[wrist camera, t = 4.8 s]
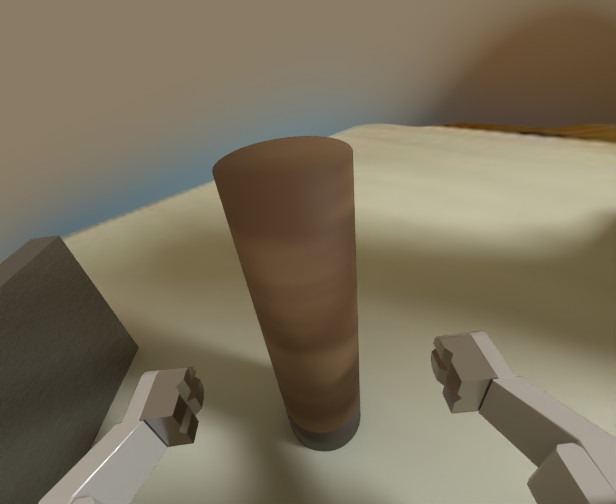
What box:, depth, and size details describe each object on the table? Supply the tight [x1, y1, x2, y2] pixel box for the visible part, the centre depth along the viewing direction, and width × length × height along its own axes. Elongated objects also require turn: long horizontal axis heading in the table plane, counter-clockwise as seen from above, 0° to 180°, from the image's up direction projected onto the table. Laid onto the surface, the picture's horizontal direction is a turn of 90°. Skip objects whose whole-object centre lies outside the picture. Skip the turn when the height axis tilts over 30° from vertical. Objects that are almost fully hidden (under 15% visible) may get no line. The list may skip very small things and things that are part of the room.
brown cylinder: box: [212, 136, 360, 451], centre depth 12 cm, size 4×4×14 cm
